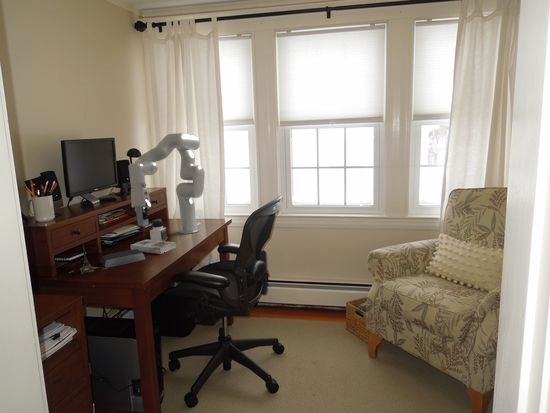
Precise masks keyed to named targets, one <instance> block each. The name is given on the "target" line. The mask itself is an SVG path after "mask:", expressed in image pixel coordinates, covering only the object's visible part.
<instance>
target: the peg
mask: <svg viewBox="0 0 550 413" xmlns="http://www.w3.org/2000/svg"><path fill="white" fill-rule="evenodd" d="M135 213H136V214H137V215H136V214H135V215H136V219H137V226H138V227H146V226H149V224H150V223H149V218H148V219H145V220H143V210H142V207H138V206H136V212H135Z"/></svg>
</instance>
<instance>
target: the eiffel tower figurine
mask: <svg viewBox="0 0 550 413" xmlns="http://www.w3.org/2000/svg"><path fill="white" fill-rule="evenodd" d="M82 249H83V265H82V267H81V268H79V270H80V274H88V273H92V272H94V270H95V269H101V270H107V269H108V268H105V267H99V266H91V264H90V263H89V261H88V259H87V255H86V254H87V253H86V251H85V249H86V248H85V246H84V245H83V246H82ZM72 272H74V270H72V271H70V272H68V274H70V273H72Z"/></svg>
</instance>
